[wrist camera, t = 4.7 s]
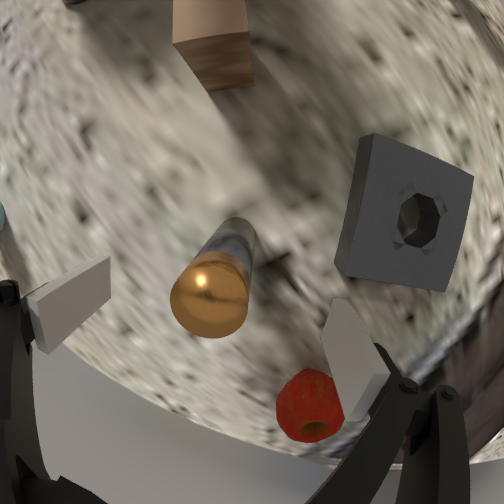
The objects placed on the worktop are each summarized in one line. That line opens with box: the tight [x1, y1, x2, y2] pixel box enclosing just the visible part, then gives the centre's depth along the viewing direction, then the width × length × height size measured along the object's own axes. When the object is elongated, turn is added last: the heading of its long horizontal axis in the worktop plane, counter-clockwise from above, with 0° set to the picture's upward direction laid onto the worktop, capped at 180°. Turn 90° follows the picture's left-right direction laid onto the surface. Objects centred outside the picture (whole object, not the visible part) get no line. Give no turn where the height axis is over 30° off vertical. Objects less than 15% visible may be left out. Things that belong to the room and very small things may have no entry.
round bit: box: [170, 217, 255, 338], centre depth 21 cm, size 4×4×16 cm
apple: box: [276, 369, 345, 443], centre depth 28 cm, size 9×8×11 cm
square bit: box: [173, 0, 254, 91], centre depth 18 cm, size 5×5×12 cm
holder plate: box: [334, 133, 474, 292], centre depth 25 cm, size 14×14×4 cm
